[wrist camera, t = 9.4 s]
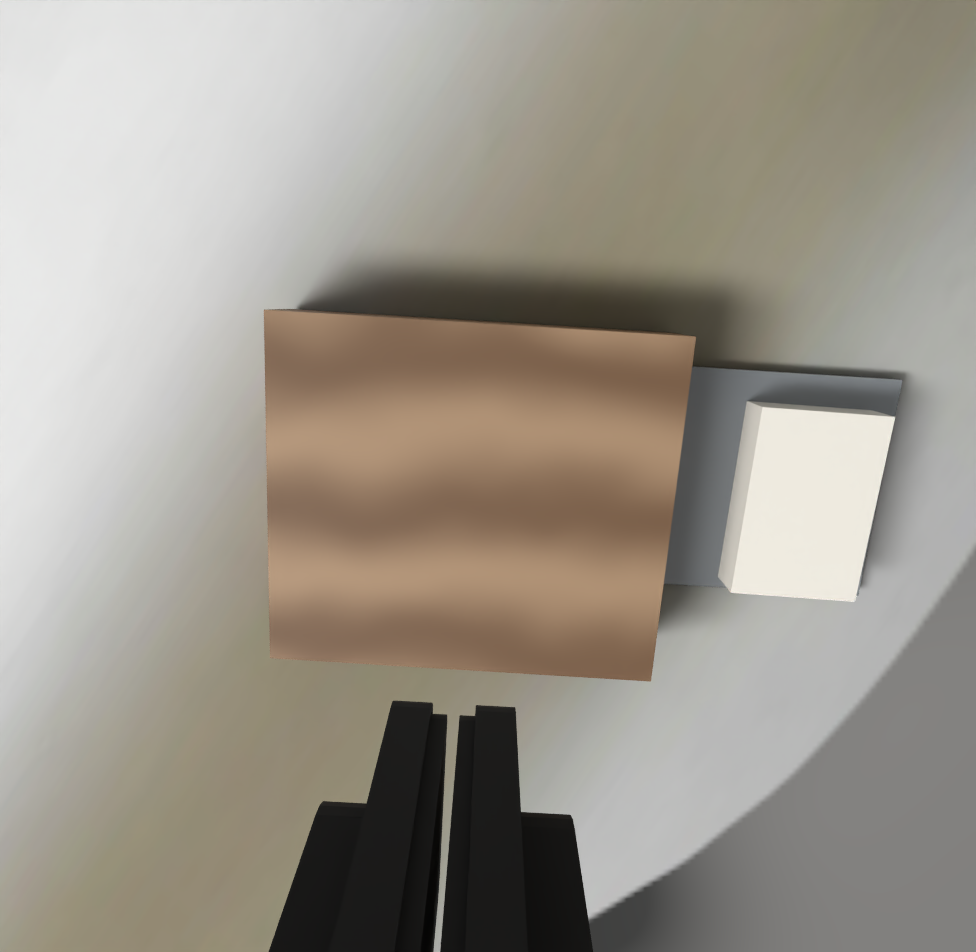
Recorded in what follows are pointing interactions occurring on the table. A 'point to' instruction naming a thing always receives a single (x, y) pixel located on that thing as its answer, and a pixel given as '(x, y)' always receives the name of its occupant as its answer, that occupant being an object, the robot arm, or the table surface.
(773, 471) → the cream white rectangular block
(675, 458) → the board
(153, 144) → the table surface
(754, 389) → the mat
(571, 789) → the table surface
